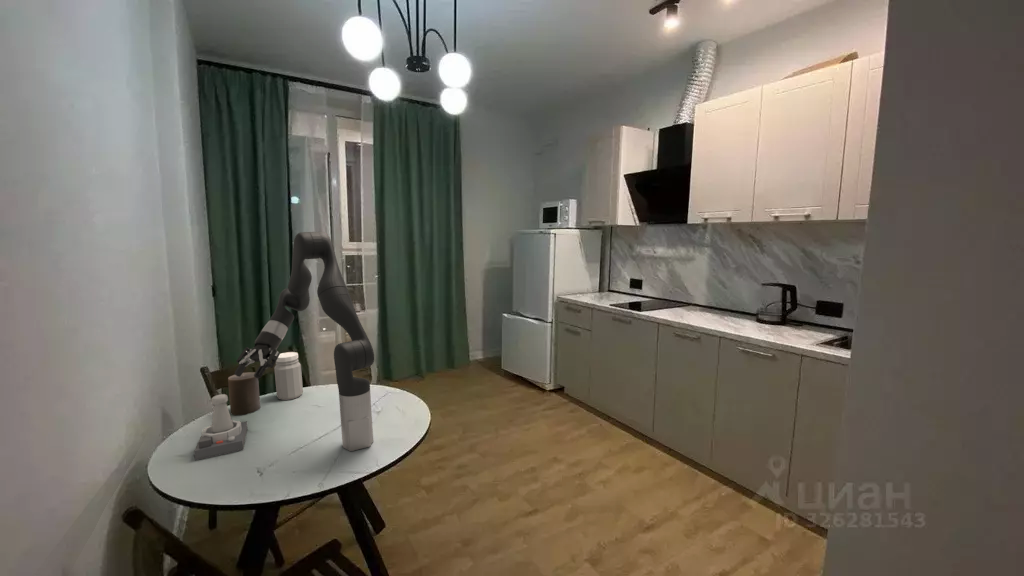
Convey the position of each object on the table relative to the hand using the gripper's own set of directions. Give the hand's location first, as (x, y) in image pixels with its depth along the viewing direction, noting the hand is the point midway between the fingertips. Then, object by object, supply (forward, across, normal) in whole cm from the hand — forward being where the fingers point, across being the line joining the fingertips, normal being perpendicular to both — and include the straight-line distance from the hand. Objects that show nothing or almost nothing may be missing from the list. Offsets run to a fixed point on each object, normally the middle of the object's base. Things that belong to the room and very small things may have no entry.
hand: (246, 376), depth 138 cm
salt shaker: (+18, 0, +4) cm, 19 cm away
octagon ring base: (+21, 0, +6) cm, 22 cm away
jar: (-6, -11, +33) cm, 36 cm away
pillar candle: (+5, -17, +22) cm, 28 cm away
